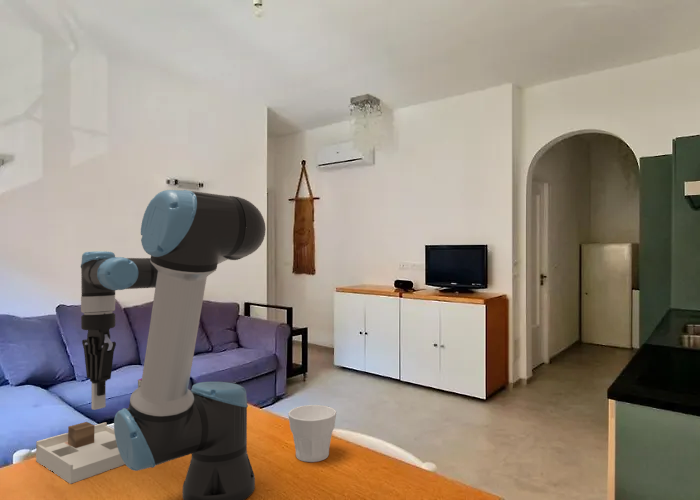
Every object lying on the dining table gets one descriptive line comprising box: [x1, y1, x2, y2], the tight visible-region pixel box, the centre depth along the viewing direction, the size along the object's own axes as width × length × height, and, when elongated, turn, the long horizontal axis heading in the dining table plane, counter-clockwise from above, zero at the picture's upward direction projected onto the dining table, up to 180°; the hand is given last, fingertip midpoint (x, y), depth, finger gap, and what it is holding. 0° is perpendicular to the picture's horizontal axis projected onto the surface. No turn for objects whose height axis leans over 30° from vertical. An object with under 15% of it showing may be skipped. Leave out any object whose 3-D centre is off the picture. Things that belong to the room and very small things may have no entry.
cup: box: [287, 404, 337, 463], centre depth 118 cm, size 12×12×11 cm
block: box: [67, 421, 95, 448], centre depth 119 cm, size 4×4×4 cm
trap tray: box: [35, 422, 126, 485], centre depth 116 cm, size 20×17×5 cm
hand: (98, 408), depth 114 cm, fingers closed
